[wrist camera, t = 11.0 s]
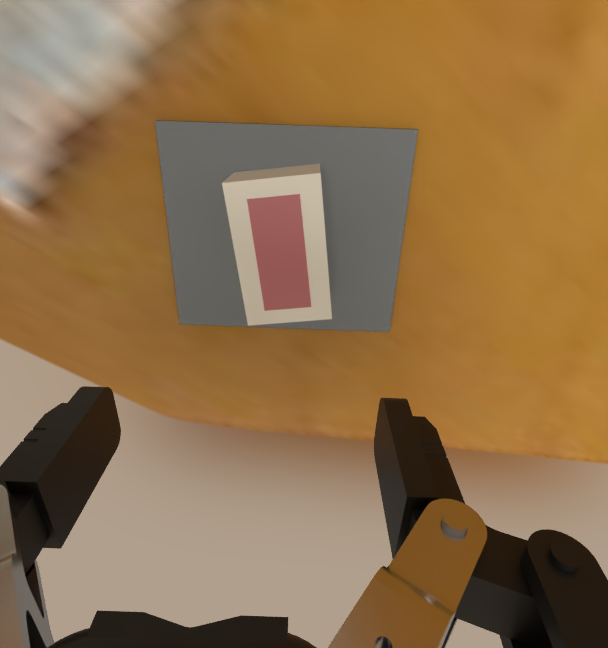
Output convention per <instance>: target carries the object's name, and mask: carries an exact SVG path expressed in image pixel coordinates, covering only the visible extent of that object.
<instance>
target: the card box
mask: <svg viewBox="0 0 608 648" xmlns="http://www.w3.org/2000/svg"><path fill="white" fill-rule="evenodd" d="M222 186H223V192H224V197H225V203H226V208H227V214H228V219H229V225H230V230H231V236H232V241H233V247H234V252H235V257H236V263H237V268H238V274H239V279H240V285H241V290H242V296H243V301H244V307H245V312H246V318H247V323H248V326H250V325H263V324H276V323H288V322H301V321H314V320H326V319H332V312H331V299H330V286H329V273H328V261H327V248H326V235H325V222H324V209H323V197H322V184H321V171H320V164H311V165H301V166H292V167H282V168H272V169H263V170H253V171H244V172H234V173H233V174H232V175H231V176H229V177H228V178H227V179H226V180H225V181H224V182H223V183H222Z"/></svg>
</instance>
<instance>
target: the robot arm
mask: <svg viewBox="0 0 608 648" xmlns="http://www.w3.org/2000/svg"><path fill="white" fill-rule="evenodd" d="M120 435H121V428H120V423H119V419H118V414H117V409H116V405H115V400H114V396H113V392H112V390H111V389H110V388H109V387H81V388H80V389H79V390H78V391H77V392H76V393H75V395H74V396H73V397H72V398H71V400H70V401H69V402H68V403H61V404H60V405H58V406H57V407H55V408H54V409H52V410H51V411H49V412H48V413H46V414H45V415H44V416H43V417H42V418H41V419H40V420H39V422H38V423H37V424H36V425H35V426H34V428H33V430H32V431H30V432H29V433H28V435H27V436H26V437H25V438H24V441H23V442H21V443H20V444H19V445H18V446H17V448H16V449H15V450H14V451H13V452H12V453H11V454H10V456H9V457H8V458H7V459H6V460H5V462H4V463H3V464H2V465H1V467H0V648H316V647H315V646H313V645H312V644H310V643H309V642H307V641H305V640H303V639H301V638H300V637H298V636H295V635H292V634H290V633H288V617H264V616H238V617H234V618H230V619H226V620H222V621H217V622H213V623H209V624H206V625H201V626H197V627H192V628H189V627H184V626H181V625H178V624H176V623H173V622H170V621H167V620H164V619H162V618H159V617H156V616H153V615H150V614H147V613H144V612H119V611H97V612H96V615H95V617H94V619H93V622H92V624H91V627H90V628H88V629H84V630H82V631H79V632H76V633H74V634H71V635H69V636H67V637H65V638H63V639H61V640H59V641H57V642H55V643H54V641H53V637H52V634H51V630H50V626H49V621H48V615H47V610H46V605H45V599H44V595H43V589H42V584H41V578H40V573H39V568H38V564H37V561H36V558H37V556H38V555H39V553H40V551H41V550H42V548H61V547H62V545H63V544H64V542H65V540H66V538H67V537H68V535H69V533H70V531H71V530H72V528H73V526H74V524H75V522H76V521H77V519H78V517H79V515H80V514H81V512H82V510H83V508H84V506H85V505H86V503H87V501H88V499H89V497H90V496H91V494H92V492H93V490H94V489H95V487H96V485H97V483H98V481H99V479H100V478H101V476H102V474H103V473H104V471H105V469H106V467H107V465H108V464H109V461H110V460H111V458H112V456H113V455H114V453H115V451H116V449H117V447H118V444H119V441H120ZM374 455H375V462H376V467H377V473H378V479H379V484H380V490H381V495H382V501H383V507H384V511H385V518H386V523H387V529H388V535H389V540H390V545H391V551H392V557H393V560H392V562H391V564H390V565H389V566H388V567H387V568H386V567H384V566H383V567H381V568H380V569H379V570H378V572H377V573H376V575H375V576H374V577H373V579H372V580H371V582H370V584H369V585H368V587H367V588H366V590H365V591H364V593H363V594H362V596H361V597H360V599H359V601H358V602H357V604H356V605H355V607H354V608H353V610H352V611H351V613H350V615H349V616H348V617H347V619H346V620H345V622H344V624H343V625H342V627H341V628H340V630H339V631H338V633H337V634H336V636H335V637H334V639H333V641H332V642H331V644H330V645H329V647H328V648H445V647H446V645H447V643H448V640H449V638H450V636H451V633H452V631H453V629H454V626H455V624H456V622H457V619H460V620H463V621H466V622H468V623H471V624H473V625H476V626H478V627H481V628H484V629H486V630H489V631H492V632H494V633H497V634H499V635H500V638H501V641H502V645H503V648H608V580H607V578H606V576H605V575H604V573H603V571H602V569H601V567H600V566H599V564H598V562H597V560H596V559H595V557H594V556H593V555H592V554H591V553H590V551H589V550H588V549H587V548H586V547H585V546H583V545H582V544H581V543H580V542H578V541H577V540H575V539H574V538H572V537H570V536H568V535H566V534H563V533H561V532H558V531H555V530H539V531H536V532H534V533H533V534H532V535H531V536H530V538H529V540H528V541H527V540H524V539H521V538H518V537H515V536H511V535H508V534H505V533H502V532H499V531H497V530H494V529H492V528H490V527H488V526H486V525H485V523H484V522H483V520H482V518H481V517H480V516H479V514H477V512H475V511H474V510H473V509H472V508H470V507H469V506H468V505H466V504H465V502H464V500H463V497H462V495H461V492H460V489H459V487H458V484H457V482H456V479H455V477H454V474H453V471H452V469H451V466H450V463H449V461H448V458H446V453H445V450H444V448H443V446H442V442H441V440H440V437H439V435H438V432H437V429H436V428H435V427H434V426H433V425H432V424H431V423H430V422H429V421H428V420H427V419H426V418H425V417H416V416H412V413H411V410H410V406H409V403H408V401H407V399H398V398H381V399H380V403H379V410H378V417H377V423H376V430H375V437H374Z"/></svg>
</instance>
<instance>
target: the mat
mask: <svg viewBox="0 0 608 648" xmlns="http://www.w3.org/2000/svg"><path fill="white" fill-rule="evenodd" d="M155 125H156V133H157V141H158V149H159V158H160V166H161V174H162V183H163V191H164V199H165V207H166V216H167V224H168V232H169V240H170V249H171V257H172V265H173V273H174V282H175V290H176V298H177V307H178V315H179V323H180V324H188V325H215V326H242V327H269V328H296V329H324V330H351V331H378V332H390V325H391V318H392V311H393V304H394V297H395V290H396V283H397V276H398V268H399V261H400V254H401V247H402V240H403V233H404V226H405V219H406V212H407V205H408V198H409V191H410V184H411V177H412V170H413V163H414V155H415V148H416V141H417V134H418V130H417V129H395V128H366V127H337V126H308V125H278V124H249V123H220V122H191V121H161V120H157V121H155ZM311 164H320V171H321V184H322V197H323V209H324V222H325V235H326V248H327V261H328V273H329V286H330V299H331V312H332V319H326V320H314V321H301V322H288V323H276V324H263V325H250V326H248V323H247V318H246V312H245V307H244V301H243V296H242V290H241V285H240V279H239V274H238V268H237V263H236V257H235V252H234V247H233V241H232V236H231V230H230V225H229V219H228V214H227V208H226V203H225V197H224V192H223V186H222V183H223V182H224V181H225V180H226V179H227V178H228V177H229V176H231V175H232V174H233V173H234V172H244V171H253V170H263V169H272V168H282V167H292V166H301V165H311Z"/></svg>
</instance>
